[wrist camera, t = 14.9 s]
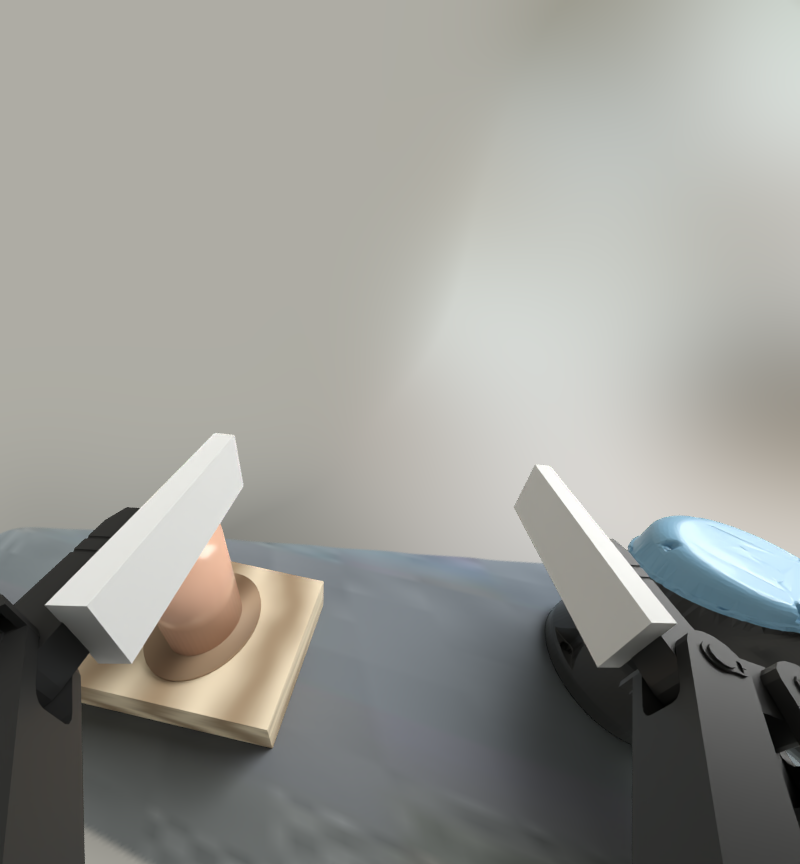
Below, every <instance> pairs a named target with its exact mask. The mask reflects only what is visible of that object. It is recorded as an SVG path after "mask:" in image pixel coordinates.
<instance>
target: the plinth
mask: <svg viewBox="0 0 800 864" xmlns="http://www.w3.org/2000/svg"><path fill="white" fill-rule="evenodd" d="M231 564H232V568H233V572H234V576H235V579H236V583H237V587H238V590H239V594H240V598H241V602H242V613H241V617H240V620H239V622H238V624H237V626H236V627H235V629H234V630H233V632H232V633H231V634H230V635H229V636H228V637H227V638H226V639H225V640H224V641H223V642H222V643H221V644H219V645H218V646H217V647H215V648H213V649H212V650H210V651H208V652H205V653H203V654H200V655H195V656H183V655H179V654H177V653H175V652H174V651H173V650H172V649H171V647H170V646H169V644H168V642H167V641H166V639H165V637H164V636H163V634H162V632H161V631H160V629H159V627H158V626H157V625H156V626H155V628H154V629H153V631H152V633H151V634H150V636H149V637H148V639H147V641H146V642H145V644H144V645H143V647H142V649H141V650H140V652H139V653H138V655H137V657H136V658H135V660H134V661H133V663H132V664H98V662H97V661H96V660H95V659H94V658H93V657H92V656H91V655H90V654H88V655H87V657H86V658H85V659H84V661H83V662H82V663H81V665H80V666H79V667H78V670H79V672H80V675H81V703H85V704H89V705H93V706H97V707H101V708H106V709H110V710H114V711H118V712H122V713H126V714H131V715H135V716H139V717H143V718H147V719H152V720H156V721H160V722H164V723H168V724H172V725H177V726H181V727H185V728H189V729H193V730H198V731H202V732H206V733H210V734H214V735H218V736H223V737H227V738H231V739H235V740H239V741H244V742H248V743H252V744H256V745H260V746H264V747H269V748H273V746H274V743H275V740H276V737H277V734H278V732H279V729H280V726H281V723H282V720H283V717H284V715H285V712H286V709H287V706H288V703H289V700H290V698H291V695H292V692H293V689H294V686H295V683H296V681H297V678H298V675H299V672H300V669H301V666H302V664H303V661H304V658H305V655H306V652H307V649H308V647H309V644H310V641H311V638H312V635H313V632H314V630H315V627H316V624H317V621H318V618H319V615H320V613H321V610H322V607H323V584H324V582H323V581H318V580H314V579H309V578H305V577H300V576H295V575H291V574H286V573H282V572H277V571H272V570H268V569H263V568H259V567H254V566H249V565H245V564H240V563H236V562H231Z"/></svg>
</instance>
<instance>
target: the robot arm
mask: <svg viewBox="0 0 800 864" xmlns="http://www.w3.org/2000/svg"><path fill="white" fill-rule="evenodd" d="M242 488H243V480H242V475H241V469H240V463H239V458H238V452H237V446H236V441H235V436H234V435H228V434H218V433H214V434H213V435H212V436H211V437H210V438H209V439H208V440H207V441H206V442H205V443H204V444H203V445H202V446H201V447H200V448H199V449H198V450H197V451H196V453H194V454H193V455H192V457H191V458H189V460H187V461H186V462H185V463H184V465H183V466H182V467H181V468H180V469H179V470H178V471H177V472H176V473H175V474H174V475H173V476H172V477H171V478H170V479H169V480H168V481H167V482H166V483H165V484H164V485H163V486H162V487H161V488H160V489H159V490H158V491H157V492H156V493H155V494H154V495H153V496H152V497H151V498H150V499H149V500H148V501H147V502H146V503H145V504H144V505H143V506H142V507H141V508H129V507H127V508H125V509H123V510H121V511H120V512H118V513H116V514H115V515H113V516H111V517H110V518H108V519H106V520H105V521H104V522H103V523H101V524H100V525H99V526H98V527H97V528H96V529H95V530H94V531H93V532H92V533H91V534H90V535H89V537H88V538H87V539H84V540H83V541H82V542H81V543H80V544H79V545H78V546H77V547H76V548H74V551H73V552H70V553H69V554H68V555H67V556H66V557H65V558H64V559H63V560H62V561H60V562H59V563H58V564H57V565H56V566H55V567H54V568H53V569H52V570H51V571H50V572H49V573H48V574H46V575H45V576H44V577H43V578H42V579H41V580H40V581H39V582H38V583H37V584H36V585H35V586H34V587H32V588H31V589H30V590H29V591H28V592H27V593H26V594H25V595H24V596H23V597H22V598H21V599H19V600H18V601H17V602H16V603H15V604H14V605H12V604H11V603H10V602H9V601H8V600H7V599H6V598H5V597H4V596H3V595H1V594H0V864H85V857H84V856H85V854H84V806H83V758H82V709H81V675H80V672H79V670H78V667H79V666H80V665H81V663H82V662H83V661H84V659H85V658H86V657H87V655H88V654H90V655H91V656H92V657H93V658H94V659H95V660H96V661H97V662H98V664H132V663H133V661H134V660H135V658H136V657H137V655H138V653H139V652H140V650H141V649H142V647H143V645H144V644H145V642H146V641H147V639H148V637H149V636H150V634H151V633H152V631H153V629H154V628H155V626H156V625H157V623H158V621H159V620H160V618H161V617H162V615H163V614H164V612H165V610H166V609H167V607H168V606H169V604H170V602H171V601H172V599H173V598H174V596H175V594H176V593H177V591H178V590H179V588H180V586H181V585H182V583H183V582H184V580H185V578H186V577H187V575H188V574H189V572H190V570H191V569H192V567H193V566H194V564H195V563H196V561H197V559H198V558H199V556H200V555H201V553H202V551H203V550H204V548H205V547H206V545H207V543H208V542H209V540H210V539H211V537H212V535H213V534H214V532H215V531H216V529H217V527H218V526H219V524H220V523H221V521H222V519H223V518H224V516H225V515H226V513H227V511H228V510H229V508H230V507H231V505H232V503H233V502H234V500H235V499H236V497H237V496H238V494H239V492H240V491H241V489H242ZM514 508H515V510H516V512H517V514H518V516H519V518H520V520H521V522H522V523H523V525H524V528H525V529H526V531H527V533H528V535H529V537H530V539H531V541H532V543H533V545H534V547H535V549H536V550H537V552H538V554H539V556H540V558H541V560H542V562H543V564H544V566H545V568H546V570H547V571H548V573H549V575H550V577H551V579H552V581H553V583H554V585H555V587H556V589H557V591H558V593H559V594H560V596H561V598H562V600H561V601H560V602H559V603H558V604H557V605H556V606H555V607H554V609H553V610H552V611H551V612H550V614H549V616H548V618H547V622H546V629H545V635H546V642H547V647H548V651H549V654H550V657H551V660H552V662H553V664H554V667H555V669H556V671H557V673H558V675H559V676H560V678H561V680H562V682H563V683H564V685H565V686H566V688H567V689H568V691H569V692H570V693H571V695H572V696H573V697H574V699H575V700H576V701H577V702H578V704H579V705H580V706H581V707H582V708H583V709H584V710H585V711H586V712H587V713H588V714H589V715H590V716H591V717H592V718H593V719H594V720H595V721H596V722H597V723H598V724H600V725H601V726H602V727H603V728H605V729H606V730H607V731H609V732H610V733H611V734H613V735H615V736H616V737H618V738H620V739H621V740H623V741H625V742H627V743H629V744H632V864H800V766H795V765H794V764H793V762H792V761H791V759H790V758H789V756H788V755H787V753H786V751H787V752H788V753H789V754H790V755H791V756H793V757H794V758H795V759H796V760H797V761H798V762H799V763H800V559H799V558H797V557H796V556H794V555H792V554H790V553H789V552H787V551H785V550H783V549H781V548H779V547H778V546H776V545H774V544H772V543H770V542H768V541H766V540H764V539H761V538H759V537H757V536H755V535H752V534H750V533H747V532H745V531H743V530H740V529H737V528H735V527H732V526H729V525H726V524H723V523H720V522H716V521H712V520H708V519H704V518H695V517H690V516H669V517H665V518H662V519H659V520H657V521H655V522H654V523H652V524H651V525H650V526H649V527H648V528H647V529H646V530H645V531H644V532H643V533H642V534H641V535H640V536H637V537H635V538H634V539H633V540H632V541H631V542H630V544H629V545H628V550H626V549H625V548H624V547H622V546H621V545H620V544H619V543H617V542H616V541H615V540H614V539H609V538H608V537H607V536H606V534H605V533H604V532H603V531H602V529H601V528H600V527H599V526H598V524H597V523H596V522H595V521H594V520H593V518H592V517H591V516H590V514H589V513H588V512H587V511H586V510H585V508H584V507H583V506H582V505H581V503H580V502H579V501H578V500H577V499H576V497H575V496H574V495H573V493H572V492H571V491H570V490H569V488H568V487H567V486H566V485H565V483H564V482H563V481H562V480H561V479H560V477H559V476H558V475H557V474H556V472H555V471H554V470H553V469H552V468H551V466H544V465H535V466H534V468H533V470H532V472H531V474H530V476H529V478H528V480H527V482H526V484H525V486H524V488H523V490H522V492H521V494H520V496H519V498H518V500H517V502H516V504H515V506H514Z"/></svg>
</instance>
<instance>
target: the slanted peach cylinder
mask: <svg viewBox="0 0 800 864" xmlns="http://www.w3.org/2000/svg"><path fill="white" fill-rule="evenodd" d="M241 613H242V602H241V598H240V594H239V590H238V587H237V583H236V579H235V576H234V572H233V568H232V564H231V561H230V557H229V553H228V549H227V546H226V542H225V538H224V534H223V531H222V527H221V525H220V524H219V526H218V527H217V529H216V531H215V532H214V534H213V535H212V537H211V539H210V540H209V542H208V543H207V545H206V547H205V548H204V550H203V551H202V553H201V555H200V556H199V558H198V559H197V561H196V563H195V564H194V566H193V567H192V569H191V570H190V572H189V574H188V575H187V577H186V578H185V580H184V582H183V583H182V585H181V586H180V588H179V590H178V591H177V593H176V594H175V596H174V598H173V599H172V601H171V602H170V604H169V606H168V607H167V609H166V610H165V612H164V614H163V615H162V617H161V618H160V620H159V621H158V623H157V626H158V627H159V629H160V631H161V632H162V634H163V636H164V637H165V639H166V641H167V642H168V644H169V646H170V647H171V649H172V650H173V651H174V652H175V653H177V654H179V655H183V656H195V655H200V654H203V653H205V652H208V651H210V650H212V649H213V648H215V647H217V646H218V645H219V644H221V643H222V642H223V641H224V640H225V639H226V638H227V637H228V636H229V635H230V634H231V633H232V632H233V630H234V629H235V627H236V626H237V624H238V622H239V620H240V617H241Z"/></svg>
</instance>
